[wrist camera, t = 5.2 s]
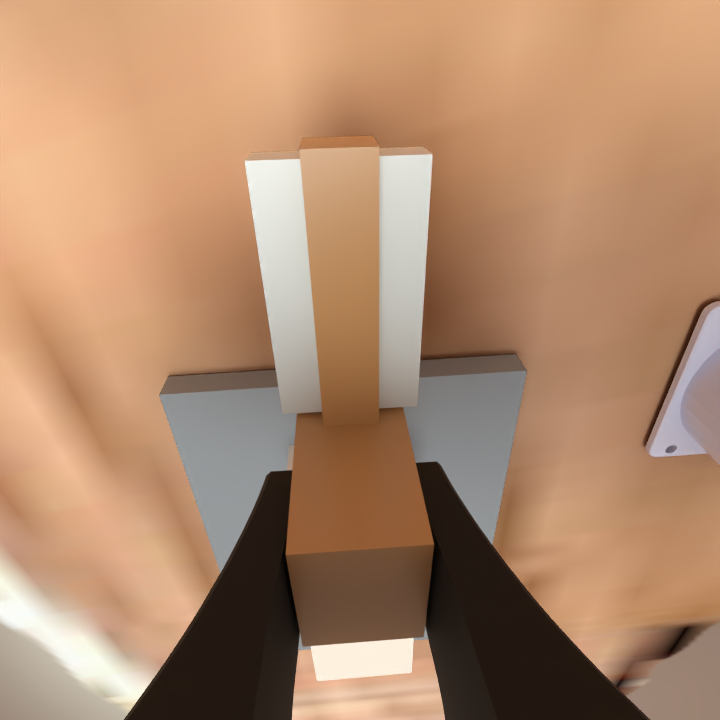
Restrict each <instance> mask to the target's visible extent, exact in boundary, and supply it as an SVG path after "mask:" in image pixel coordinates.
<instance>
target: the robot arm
mask: <svg viewBox="0 0 720 720" xmlns="http://www.w3.org/2000/svg"><path fill="white" fill-rule="evenodd" d="M645 449H646V451H647V452H648V453H649V454H650V455H651V456H653V457H665V456H678V455H692V454H706V453H708V454H709V455H710V456H711V457H712V458H713V459H714V460H715V461H716V462H717V463H718V464H719V465H720V301H717V302H713V303H711V304H709V305H708V306H706V307H705V308H704V309H703V311H702V313H701V315H700V317H699V319H698V322H697V324H696V327H695V329H694V331H693V334H692V336H691V339H690V341H689V343H688V346H687V348H686V351H685V353H684V355H683V358H682V360H681V363H680V365H679V367H678V370H677V372H676V375H675V377H674V379H673V382H672V384H671V387H670V389H669V391H668V394H667V396H666V399H665V401H664V403H663V406H662V408H661V411H660V413H659V415H658V418H657V420H656V423H655V425H654V427H653V430H652V432H651V435H650V437H649V439H648V442H647V444H646V448H645ZM416 466H417V471H418V475H419V480H420V484H421V488H422V493H423V497H424V502H425V506H426V511H427V515H428V519H429V524H430V528H431V533H432V537H433V542H434V551H433V560H432V569H431V578H430V587H429V596H428V605H427V614H426V623H425V627H426V631H427V635H428V639H429V644H430V648H431V652H432V656H433V660H434V665H435V669H436V673H437V677H438V682H439V687H440V692H441V697H442V702H443V708H444V714H445V720H650V719H649V718H648V717H647V716H646V715H645V714H644V713H643V712H641V710H639V709H638V708H637V707H636V706H635V705H634V704H633V703H632V702H631V701H630V700H629V699H628V698H627V697H626V696H625V695H624V694H623V693H622V692H621V691H620V690H619V689H618V688H617V687H616V686H615V685H614V684H613V683H612V682H611V681H610V680H609V679H608V678H607V677H606V676H605V675H604V674H603V673H602V672H601V671H600V670H599V669H598V668H597V667H596V666H595V665H594V664H593V663H592V662H591V661H590V660H589V659H588V658H587V657H586V656H585V655H584V654H583V653H582V651H581V650H580V649H579V648H578V647H577V646H576V645H575V644H574V643H573V642H572V641H571V640H570V639H569V638H568V636H567V635H566V634H565V633H564V632H563V631H562V630H561V629H560V628H559V626H558V625H557V624H556V623H555V622H554V621H553V620H552V619H551V618H550V616H549V615H548V614H547V613H546V612H545V611H544V609H543V608H542V607H541V606H540V605H539V604H538V602H537V601H536V600H535V599H534V598H533V596H532V595H531V594H530V593H529V592H528V590H527V589H526V588H525V587H524V585H523V584H522V583H521V582H520V580H519V579H518V578H517V577H516V575H515V574H514V573H513V572H512V570H511V569H510V568H509V567H508V565H507V564H506V563H505V561H504V560H503V559H502V557H501V556H500V555H499V553H498V552H497V551H496V549H495V548H494V547H493V545H492V544H491V542H490V541H489V540H488V538H487V537H486V535H485V534H484V533H483V531H482V530H481V528H480V527H479V526H478V524H477V523H476V521H475V520H474V518H473V517H472V515H471V514H470V512H469V511H468V509H467V508H466V506H465V505H464V503H463V502H462V500H461V499H460V497H459V495H458V494H457V492H456V490H455V489H454V487H453V486H452V484H451V482H450V480H449V479H448V477H447V475H446V473H445V472H444V470H443V468H442V466H441V465H440V464H439V463H438V462H437V461H435V462H419V463H416ZM291 481H292V470H285V471H271V472H270V473H269V474H267V475H266V478H265V481H264V483H263V486H262V489H261V491H260V494H259V496H258V498H257V501H256V503H255V505H254V508H253V510H252V512H251V514H250V516H249V519H248V521H247V523H246V525H245V527H244V529H243V531H242V533H241V535H240V537H239V539H238V541H237V543H236V545H235V547H234V549H233V551H232V552H231V554H230V556H229V558H228V560H227V562H226V564H225V566H224V568H223V569H222V571H221V573H220V575H219V576H218V578H217V580H216V582H215V583H214V585H213V587H212V588H211V590H210V592H209V594H208V595H207V597H206V599H205V600H204V602H203V604H202V606H201V607H200V609H199V611H198V612H197V614H196V616H195V617H194V619H193V620H192V622H191V623H190V625H189V627H188V628H187V630H186V631H185V633H184V634H183V636H182V638H181V639H180V641H179V642H178V644H177V645H176V647H175V648H174V650H173V651H172V653H171V654H170V656H169V657H168V659H167V660H166V662H165V663H164V664H163V666H162V667H161V669H160V670H159V672H158V673H157V674H156V676H155V677H154V679H153V680H152V681H151V683H150V684H149V686H148V687H147V688H146V690H145V691H144V693H143V694H142V695H141V697H140V698H139V699H138V701H137V702H136V704H135V705H134V706H133V708H132V709H131V711H130V712H129V713H128V715H127V716H126V717H125V719H124V720H292V706H293V693H294V683H295V674H296V665H297V656H298V647H299V638H300V630H299V624H298V619H297V614H296V608H295V603H294V598H293V592H292V587H291V581H290V576H289V571H288V565H287V560H286V544H287V531H288V519H289V506H290V493H291Z"/></svg>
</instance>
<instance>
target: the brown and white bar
mask: <svg viewBox="0 0 720 720" xmlns="http://www.w3.org/2000/svg"><path fill="white" fill-rule="evenodd" d="M432 156H433V154H432V153H431V152H429V151H428V150H427V149H426V148H425V147H424V146H423V147H393V148H379V145H378V144H377V142H376V140H375V139H374V137H373V136H344V137H314V138H302V142H301V145H300V149H299V151H277V152H251V153H250V155H249V156H248V157H247V158H246V160H245V167H246V174H247V180H248V187H249V194H250V201H251V207H252V214H253V221H254V227H255V234H256V241H257V247H258V254H259V261H260V267H261V274H262V281H263V287H264V294H265V301H266V307H267V314H268V321H269V327H270V334H271V341H272V347H273V354H274V361H275V367H276V374H277V381H278V388H279V394H280V401H281V408H282V414H292V413H297V418H296V430H295V443H294V455H293V468H292V481H291V493H290V506H289V519H288V531H287V544H286V560H287V565H288V571H289V576H290V581H291V587H292V592H293V598H294V603H295V608H296V614H297V619H298V624H299V630H300V635H301V641H302V646H303V647H307V646H319V645H332V644H344V643H357V642H369V641H382V640H395V639H407V638H420V637H424V632H425V623H426V614H427V605H428V596H429V587H430V578H431V569H432V560H433V551H434V542H433V537H432V533H431V528H430V524H429V519H428V515H427V511H426V506H425V502H424V497H423V493H422V488H421V484H420V480H419V475H418V471H417V466H416V462H415V458H414V453H413V449H412V444H411V440H410V435H409V431H408V427H407V422H406V418H405V413H404V409H403V407H412V406H417V403H418V387H419V370H420V354H421V337H422V321H423V304H424V288H425V271H426V255H427V239H428V222H429V206H430V189H431V173H432Z"/></svg>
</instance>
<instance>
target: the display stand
mask: <svg viewBox="0 0 720 720" xmlns="http://www.w3.org/2000/svg"><path fill="white" fill-rule="evenodd" d="M526 374H527V370H526V368H525V367H524V365H523V364H522V362H521V361H520V359H519V358H518V356H517V355H516V354H509V355H494V356H478V357H463V358H447V359H432V360H420V370H419V387H418V403H417V406H412V407H403V409H404V413H405V418H406V422H407V427H408V431H409V435H410V440H411V444H412V449H413V453H414V458H415V462H416V463H419V462H435V461H437V462H438V463H439V464H440V465H441V466H442V468H443V470H444V472H445V473H446V475H447V477H448V479H449V480H450V482H451V484H452V486H453V487H454V489H455V490H456V492H457V494H458V495H459V497H460V499H461V500H462V502H463V503H464V505H465V506H466V508H467V509H468V511H469V512H470V514H471V515H472V517H473V518H474V520H475V521H476V523H477V524H478V526H479V527H480V528H481V530H482V531H483V533H484V534H485V535H486V537H487V538H488V540H489V541H490V542H491V544H493V539H494V534H495V529H496V524H497V519H498V514H499V509H500V504H501V499H502V494H503V489H504V484H505V479H506V474H507V469H508V464H509V459H510V454H511V449H512V444H513V439H514V434H515V429H516V424H517V419H518V414H519V409H520V404H521V399H522V394H523V389H524V384H525V379H526ZM159 396H160V399H161V401H162V404H163V407H164V410H165V413H166V416H167V419H168V422H169V425H170V428H171V431H172V433H173V436H174V439H175V442H176V445H177V448H178V451H179V454H180V457H181V460H182V462H183V465H184V468H185V471H186V474H187V477H188V480H189V483H190V486H191V489H192V492H193V494H194V497H195V500H196V503H197V506H198V509H199V512H200V515H201V518H202V521H203V523H204V526H205V529H206V532H207V535H208V538H209V541H210V544H211V547H212V550H213V553H214V555H215V558H216V561H217V564H218V567H219V570H220V573H221V571H222V569H223V568H224V566H225V564H226V562H227V560H228V558H229V556H230V554H231V552H232V551H233V549H234V547H235V545H236V543H237V541H238V539H239V537H240V535H241V533H242V531H243V529H244V527H245V525H246V523H247V521H248V519H249V516H250V514H251V512H252V510H253V508H254V505H255V503H256V501H257V498H258V496H259V494H260V491H261V489H262V486H263V483H264V481H265V478H266V475H267V474H269V473H270V472H271V471H285V470H292V468H293V455H294V443H295V430H296V418H297V413H292V414H282V408H281V401H280V394H279V388H278V381H277V374H276V370H261V371H245V372H230V373H214V374H199V375H183V376H168V378H167V380H166V382H165V384H164V386H163V388H162V390H161V392H160V394H159ZM423 639H428V635H427V631H426V627H425V632H424V637H420V638H407V639H395V640H382V641H369V642H357V643H344V644H332V645H319V646H307V647H303V646H302V641H301V635H300V638H299V647H298V650H307V649H311V651H312V657H313V662H314V667H315V673H316V678H317V681H325V680H336V679H347V678H358V677H370V676H381V675H392V674H404V673H412V657H413V640H423Z"/></svg>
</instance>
